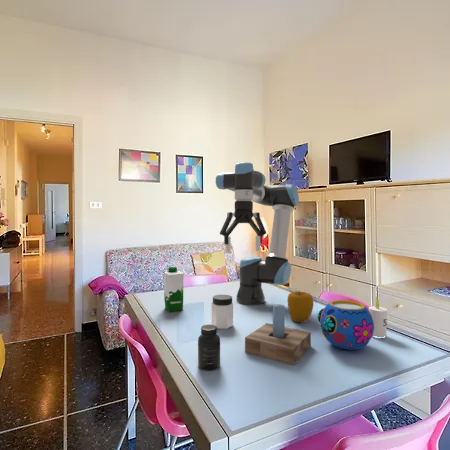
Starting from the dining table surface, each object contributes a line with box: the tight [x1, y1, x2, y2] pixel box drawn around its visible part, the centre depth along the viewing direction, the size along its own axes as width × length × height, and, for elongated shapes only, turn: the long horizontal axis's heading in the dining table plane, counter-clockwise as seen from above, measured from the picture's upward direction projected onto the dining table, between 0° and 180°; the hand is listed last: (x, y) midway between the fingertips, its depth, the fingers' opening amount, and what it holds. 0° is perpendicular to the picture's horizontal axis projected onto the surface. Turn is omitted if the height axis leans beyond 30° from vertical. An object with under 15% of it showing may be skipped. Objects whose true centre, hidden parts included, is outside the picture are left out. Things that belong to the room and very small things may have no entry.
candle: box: [368, 296, 388, 337], centre depth 122 cm, size 6×6×15 cm
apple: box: [287, 290, 314, 323], centre depth 140 cm, size 11×11×13 cm
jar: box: [211, 294, 234, 330], centre depth 133 cm, size 9×8×12 cm
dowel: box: [272, 303, 286, 339], centre depth 110 cm, size 4×4×15 cm
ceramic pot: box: [317, 299, 374, 351], centre depth 112 cm, size 18×18×15 cm
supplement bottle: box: [197, 324, 221, 371], centre depth 98 cm, size 7×7×12 cm
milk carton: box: [163, 266, 184, 313], centre depth 155 cm, size 9×9×20 cm
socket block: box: [244, 322, 312, 366], centre depth 110 cm, size 17×17×5 cm
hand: (243, 251), depth 133 cm, fingers open, 13 cm apart
